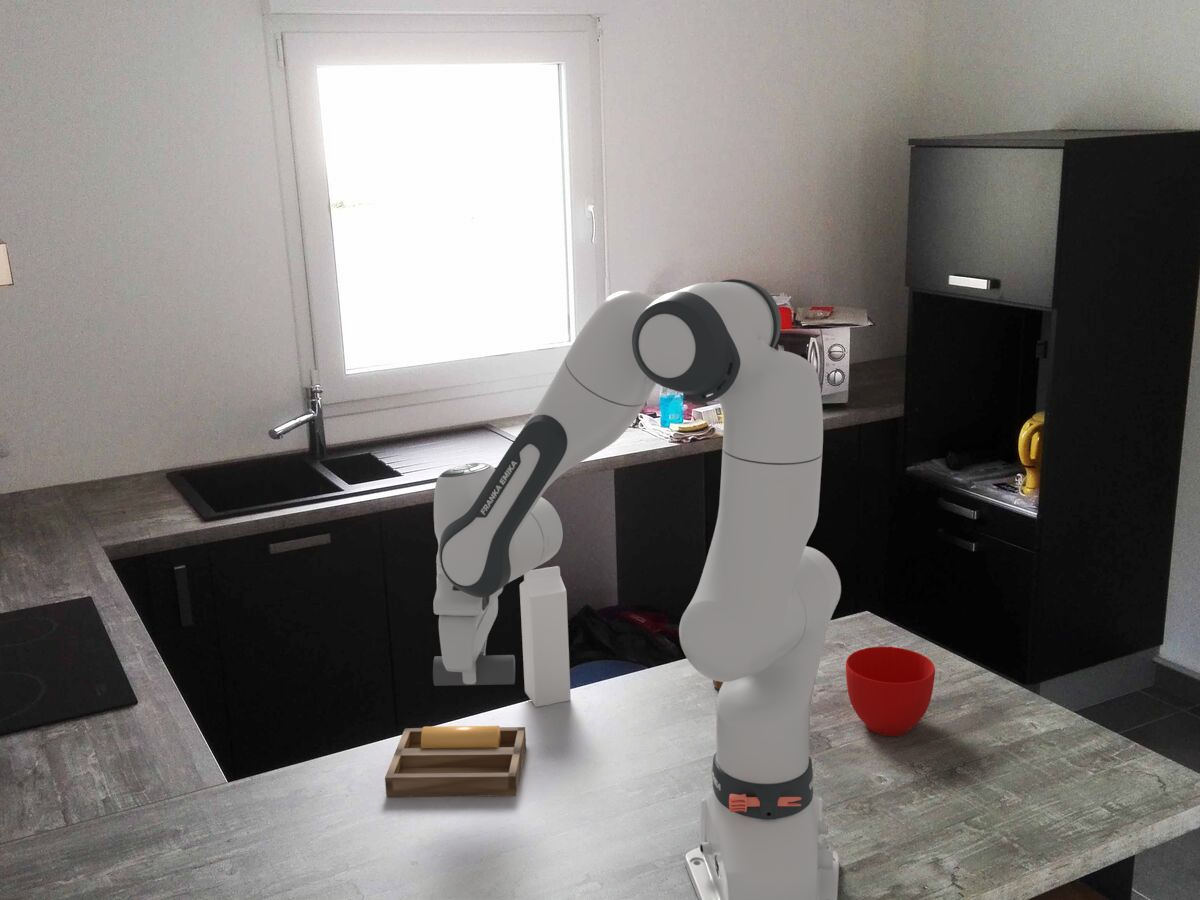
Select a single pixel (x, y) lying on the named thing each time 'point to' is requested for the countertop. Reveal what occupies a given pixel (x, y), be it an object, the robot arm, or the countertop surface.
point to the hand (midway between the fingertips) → (474, 672)
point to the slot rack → (456, 767)
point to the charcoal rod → (478, 671)
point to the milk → (545, 636)
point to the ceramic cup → (889, 687)
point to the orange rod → (460, 737)
